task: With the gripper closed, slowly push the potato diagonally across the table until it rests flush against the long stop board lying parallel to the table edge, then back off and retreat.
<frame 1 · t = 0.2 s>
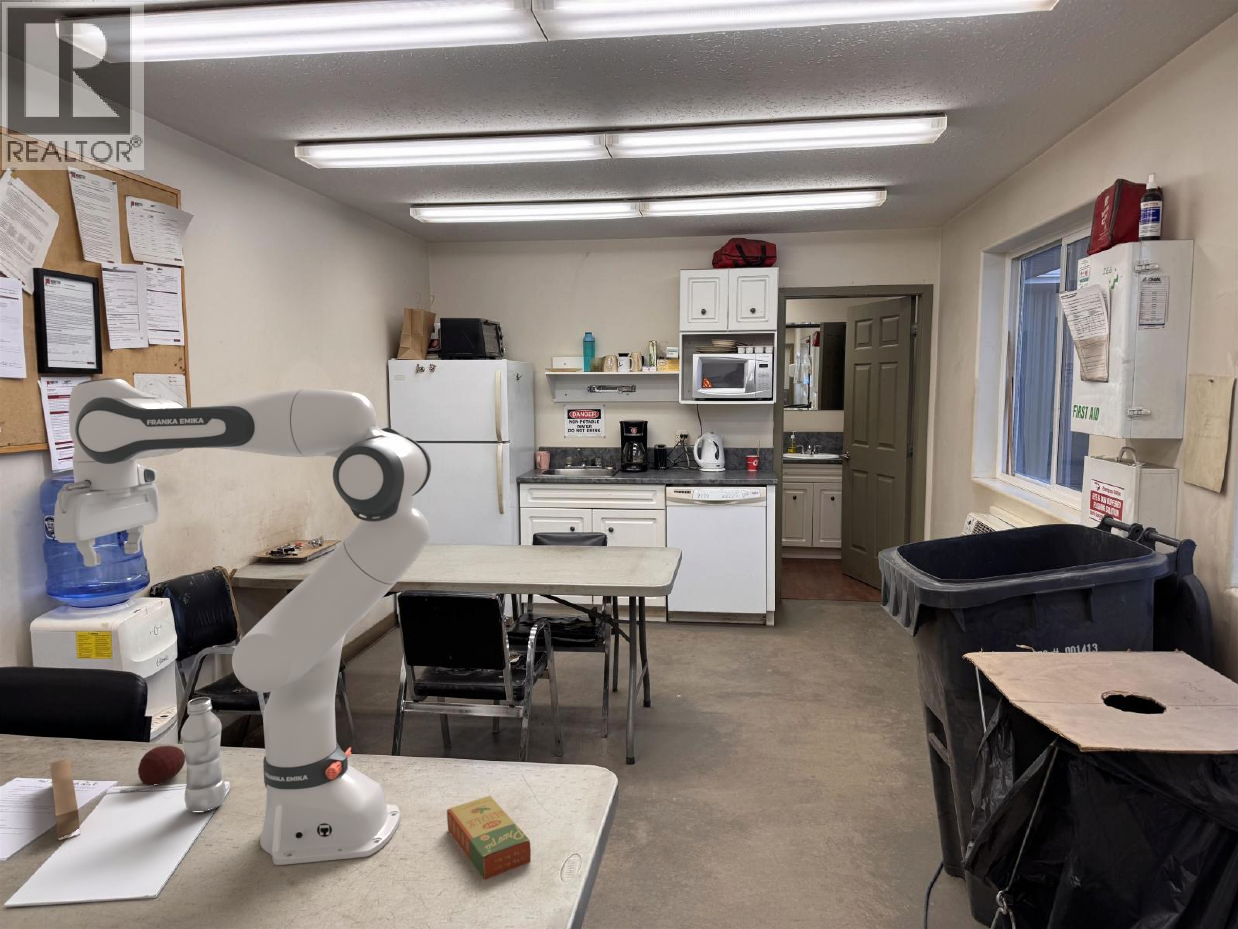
hand: (113, 559, 127), 47 cm above the table, fingers open, 8 cm apart
board: (65, 808, 138), on the table
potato: (163, 781, 147), on the table
plastic bottle: (206, 808, 137), on the table
carton: (488, 848, 124), on the table
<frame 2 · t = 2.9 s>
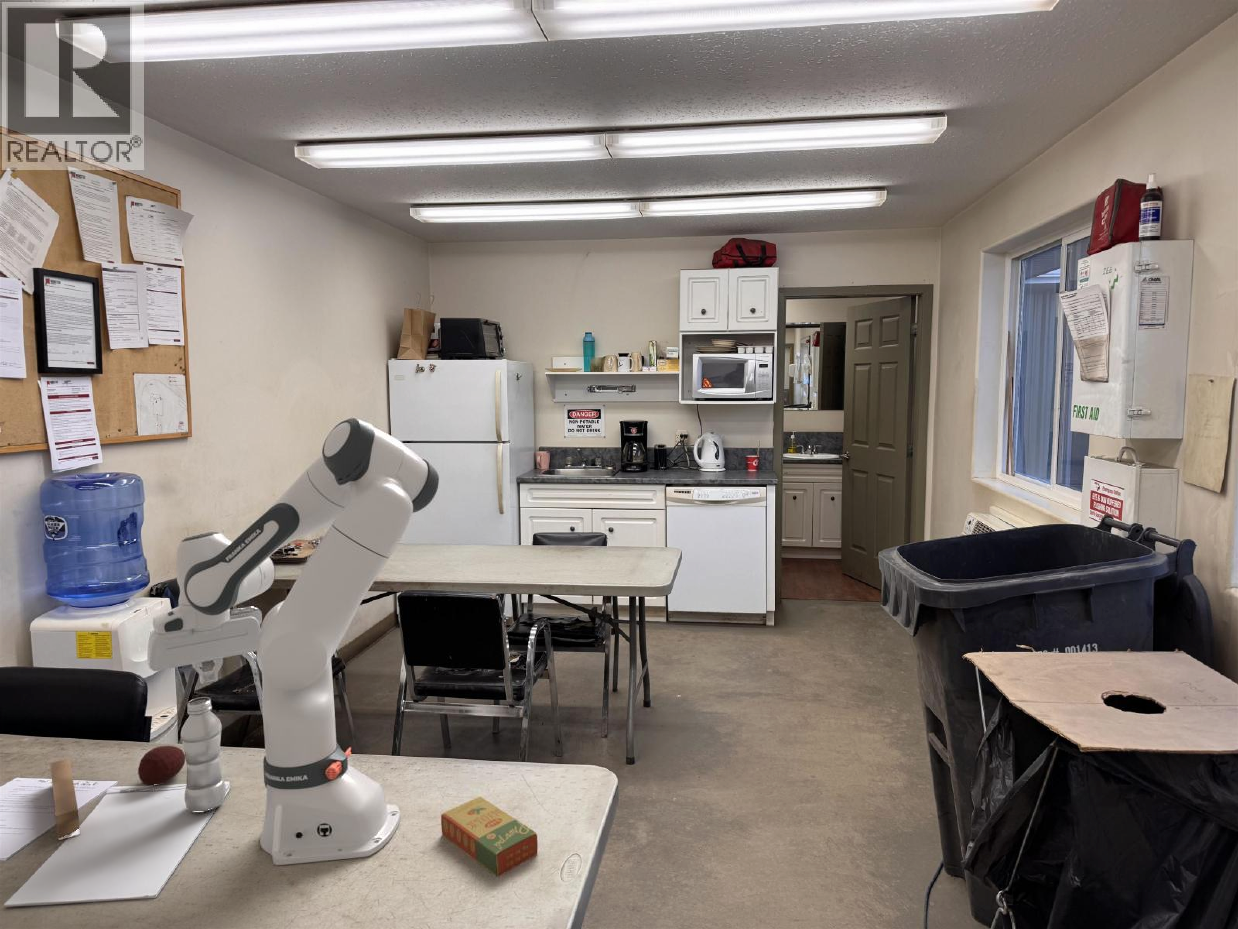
hand: (208, 681, 151), 18 cm above the table, fingers closed
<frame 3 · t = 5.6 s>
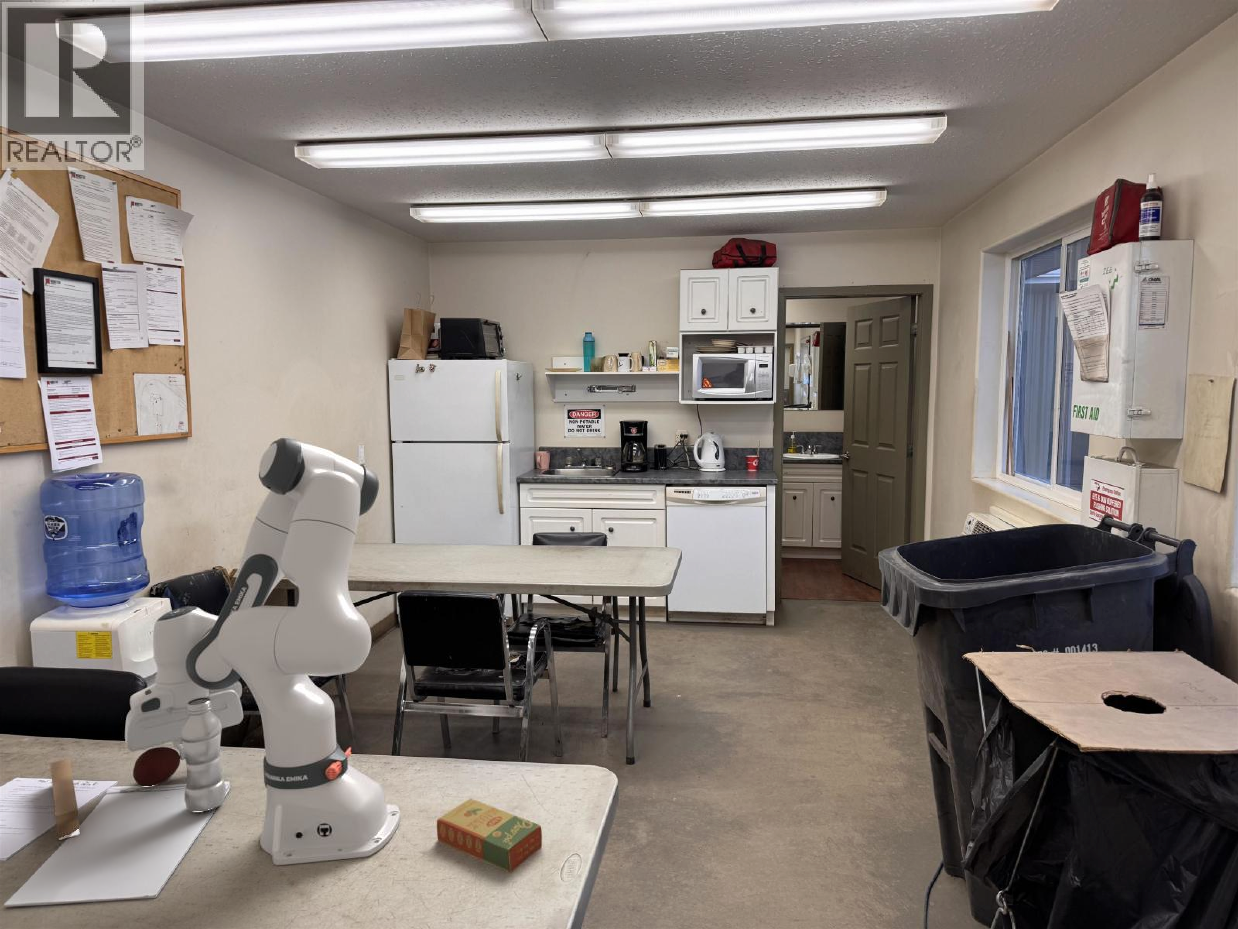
hand: (188, 757, 150), 3 cm above the table, fingers closed
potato: (158, 782, 147), on the table, touching gripper
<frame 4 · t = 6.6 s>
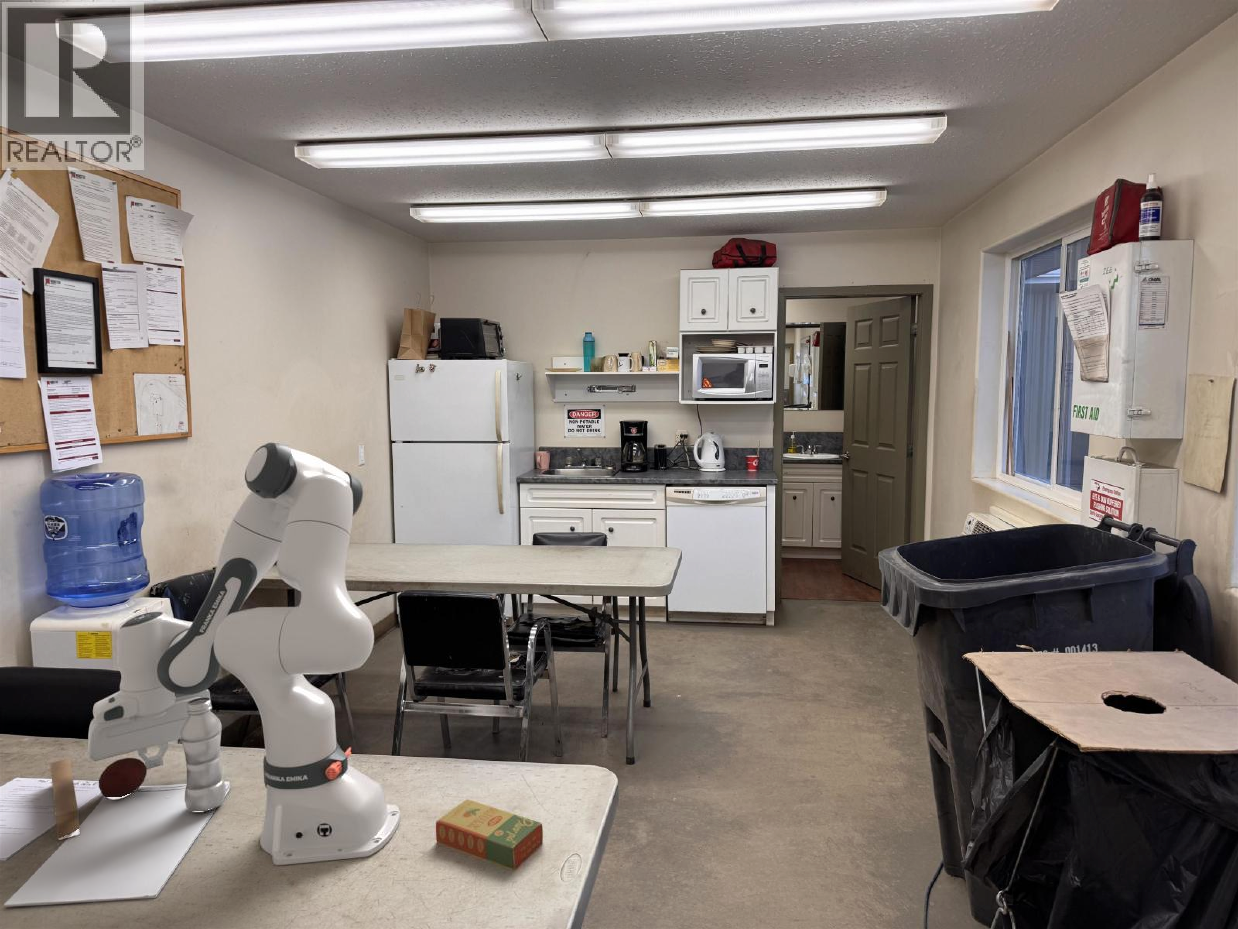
hand: (154, 766, 147), 3 cm above the table, fingers closed
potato: (125, 795, 142), on the table, touching gripper
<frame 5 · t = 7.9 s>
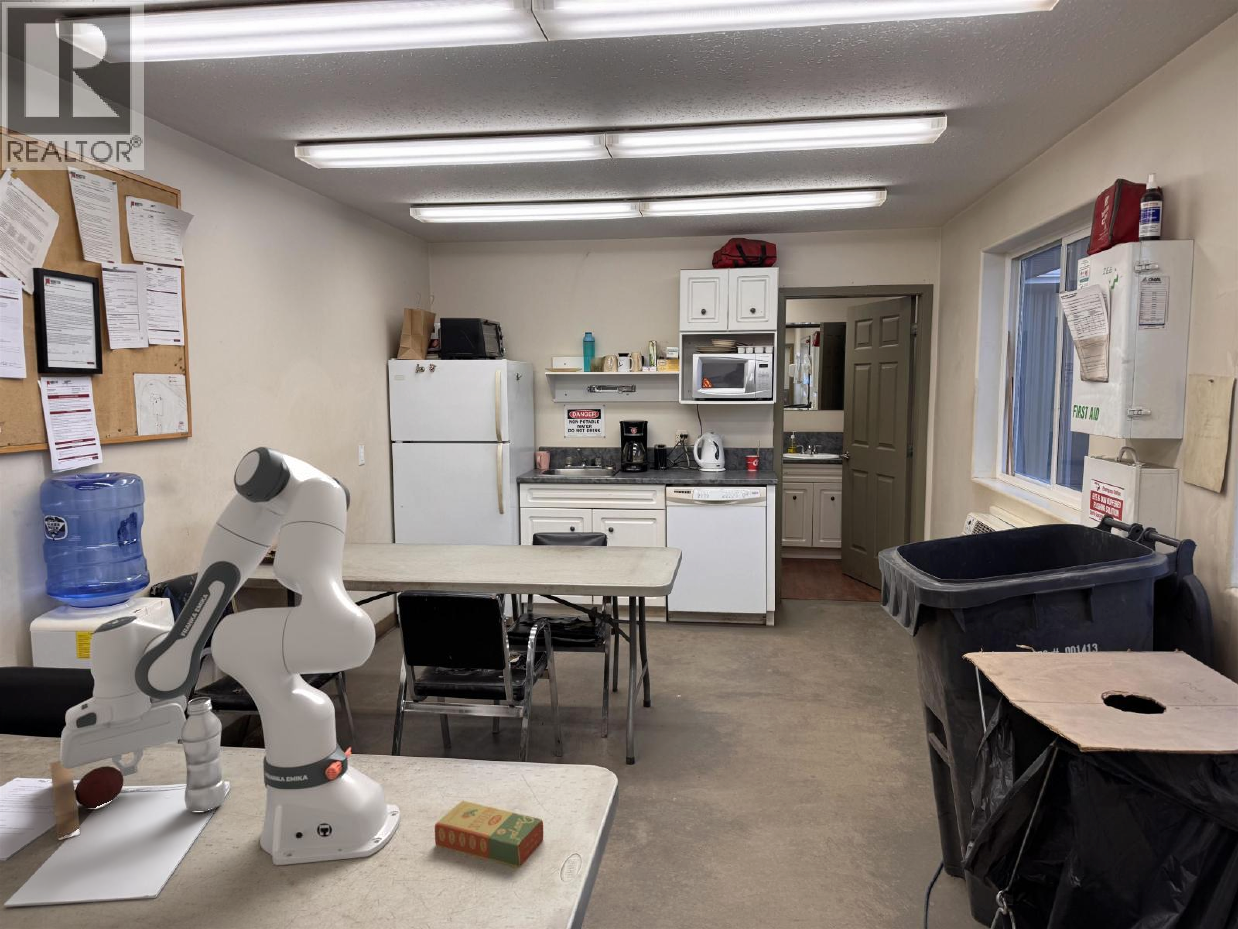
hand: (129, 773, 144), 3 cm above the table, fingers closed
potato: (101, 804, 139), on the table, touching board, gripper
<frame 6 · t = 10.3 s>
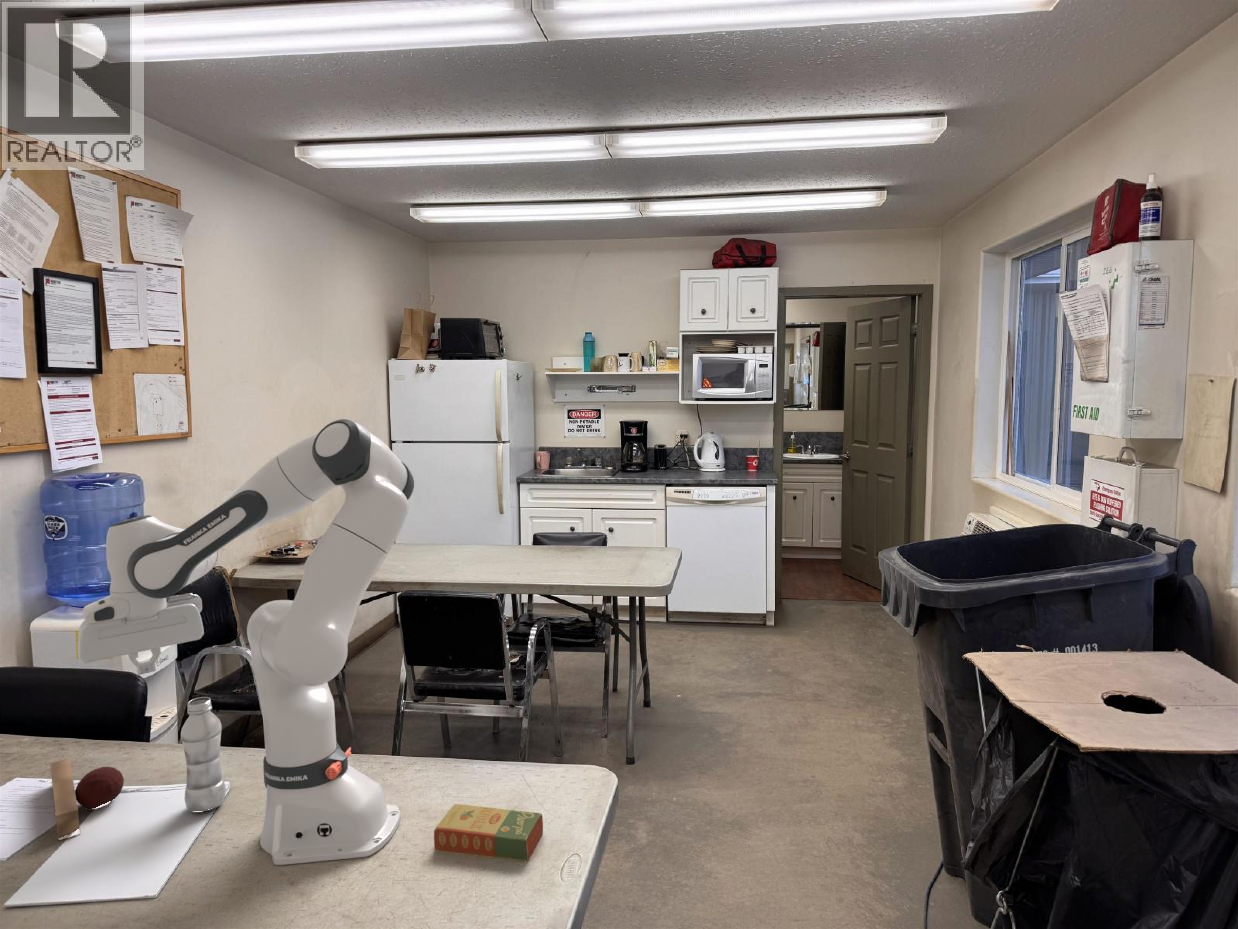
hand: (146, 672, 144), 22 cm above the table, fingers closed
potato: (101, 805, 139), on the table
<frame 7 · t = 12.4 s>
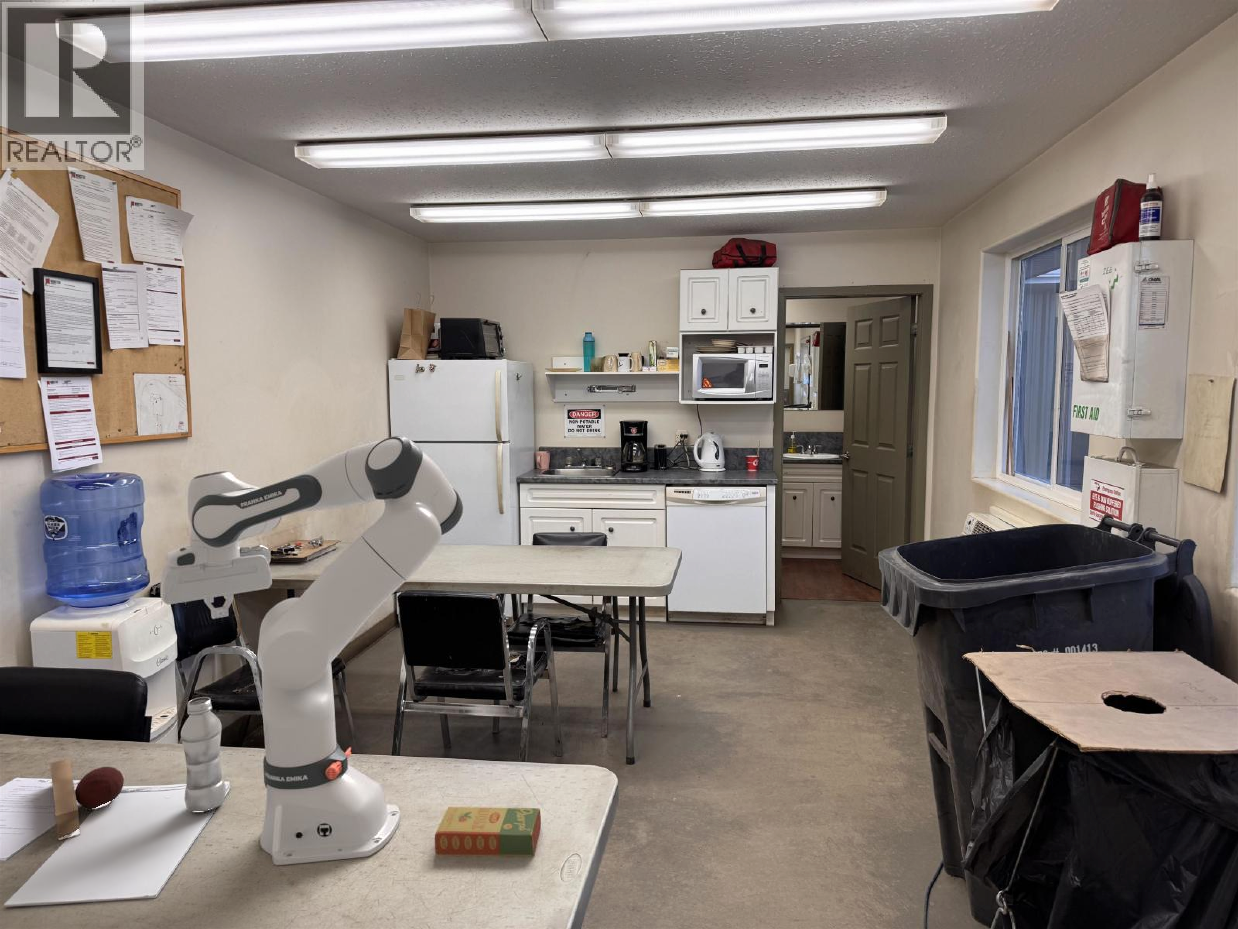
hand: (220, 617, 156), 29 cm above the table, fingers closed
at the end: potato inside the target area on the table beside the board (2.5 cm from its centre), on the table; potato 5.8 cm from the board (horizontally); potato moved 10.5 cm from its start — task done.
